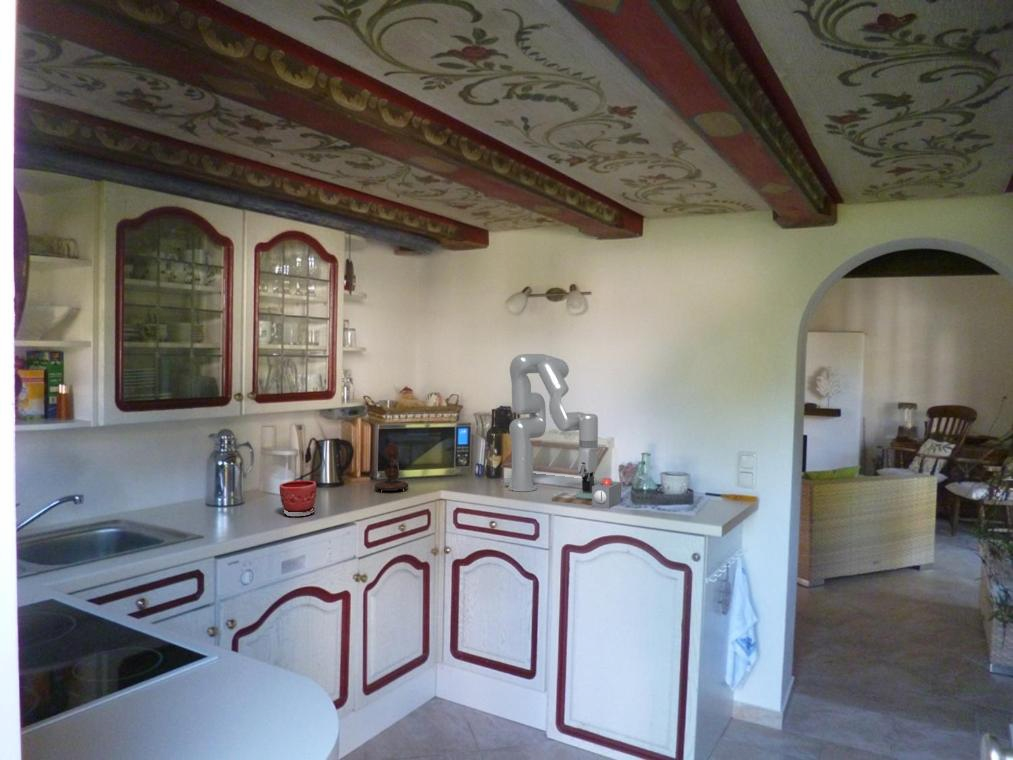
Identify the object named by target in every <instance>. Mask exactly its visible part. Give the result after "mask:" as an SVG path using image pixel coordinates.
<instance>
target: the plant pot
mask: <svg viewBox="0 0 1013 760" xmlns="http://www.w3.org/2000/svg"><path fill="white" fill-rule="evenodd" d="M279 495H280V502H281V505H282V506H283V508H284V509H285V510H286V511H288V512H303V513H307V511H308V512H312V511H314V510H315V511H316V508H315V507H314V505H315V503H316V499H317V482H316V481H314V480H307V479H306V480H305V479H302V480H291V481H286V482H283V483H281V484H279ZM312 508H313V510H312V511H310V510H311V509H312ZM284 509H283V510H284Z"/></svg>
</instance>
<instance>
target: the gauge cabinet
mask: <svg viewBox="0 0 1013 760" xmlns="http://www.w3.org/2000/svg"><path fill="white" fill-rule="evenodd" d="M620 503H622V482H621V481H612V482H611V486H608V485H602V481H601V482H599V483H597V484H594V486H592V505H591V506H592V508H600V509H601V508H603V509H610V508H612V507H614V506H617V505H618V504H620Z"/></svg>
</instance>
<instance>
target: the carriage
mask: <svg viewBox="0 0 1013 760" xmlns="http://www.w3.org/2000/svg"><path fill="white" fill-rule="evenodd" d="M589 481H590V491H583V490H581V491H578V492H576V493H575V494H576V497H580V498H590V499H592V486H593V476H590V477H589Z"/></svg>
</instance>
